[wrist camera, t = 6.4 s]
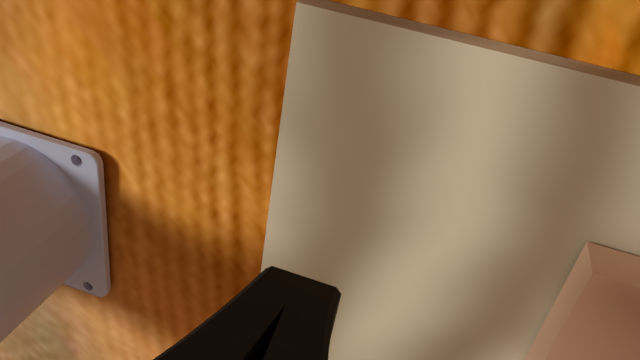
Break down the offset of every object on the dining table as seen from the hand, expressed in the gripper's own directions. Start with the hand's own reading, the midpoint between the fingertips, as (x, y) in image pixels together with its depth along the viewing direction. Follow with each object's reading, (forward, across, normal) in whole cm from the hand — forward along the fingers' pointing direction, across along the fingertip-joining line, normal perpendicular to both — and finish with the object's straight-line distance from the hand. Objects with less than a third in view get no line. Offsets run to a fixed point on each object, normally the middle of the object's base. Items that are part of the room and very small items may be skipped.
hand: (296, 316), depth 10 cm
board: (+10, -5, +5) cm, 12 cm away
